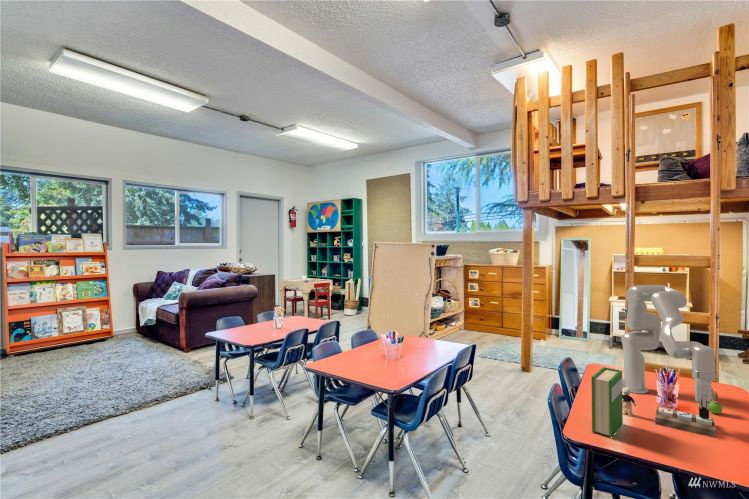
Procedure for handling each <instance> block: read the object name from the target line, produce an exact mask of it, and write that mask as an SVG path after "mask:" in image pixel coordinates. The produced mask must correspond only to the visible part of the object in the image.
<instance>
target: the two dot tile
mask: <svg viewBox="0 0 749 499" xmlns="http://www.w3.org/2000/svg"><path fill="white" fill-rule="evenodd" d="M658 407H659V415H663V416H667V417H672V418H673V410H674V409H671V408H666V407H661V406H658ZM660 407H661V408H660ZM665 408H666V409H665ZM670 409H671V410H670Z"/></svg>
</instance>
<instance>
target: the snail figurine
mask: <svg viewBox="0 0 749 499" xmlns="http://www.w3.org/2000/svg"><path fill="white" fill-rule="evenodd" d="M718 400H719V395H718V392H716V391H715V390H714V389H713V388H712V389H711V404H708V408H709V413H712V414H714V415H715V414H717V415H718V414H721V413H722V412H723V405H721V404H720V403H719V401H718Z"/></svg>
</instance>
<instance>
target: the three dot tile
mask: <svg viewBox="0 0 749 499" xmlns="http://www.w3.org/2000/svg"><path fill="white" fill-rule="evenodd" d="M676 411H677V419H681V420H686V421H691V422H692V414H693V413H690V412H686V413H685V412H684V411H681V412H680V410H676ZM689 413H690V414H689Z"/></svg>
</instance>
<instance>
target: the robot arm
mask: <svg viewBox="0 0 749 499" xmlns="http://www.w3.org/2000/svg"><path fill="white" fill-rule="evenodd" d="M626 299H627V312H626V327H627V328H628V329H629V330H631V331H627V332H624V333H623V334H622V336H621V344H622V350H623V378H622V390H623V389H624V388H625V387H628V388H630V393H632V394H633V393H634V394H643V395H644V394H647V393H649V388H648V387H647V386H646V367H645V366H646V362H645V361H646V359H645V357H644V354H643V353H642V352H641V351H642V350H643V351H644V350H646V351H647V350H656V349H657V348H658V347H659V346H660V342H661V344H662V346H663V348H664V349H665V351H666V353H667V354H668V356H669V357H671V358H673V359H678V360H679V359H680V360H681V359H684V360H685V359H689V360H690V359H691V377H692V378H693V379H694V399H695V402H696V403H699V406H698V415H699V417H701V418H706V419H709V417H710V411H709V408H708V404H711V401H712V399H711V389H713V385H712V382H715V381H716V351H715V349H714V348H713V347H710V346H708V345H704V344H703V343H701V342H698V341H688V340H687V341H686V340H685V341H684V340H683V341H682V340H680V341H679V340H677V341H676V339H675V338H674V336H673V333H672V329H673V328H675V327H677V326H679V325H681V324H682V323H684V321H685V318H684V316H683V314H682V313H681V311H680V309H683V308H685V307H686V306H687V304H688V300H687V297H686V295H685V294H684V293H683V292H682V291H679V290H677V289H674V288H672V287H669V286H668V285H663V284H644V285H643V284H640V285H639V284H638V285H633V286H630V287H629V288H627V291H626ZM646 302H651V303H652V305H653V307H654V309H655V310H656V312H657V314H658V315H657V314H656V313H653V312H647V310H648V305H647V304H646Z"/></svg>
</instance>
